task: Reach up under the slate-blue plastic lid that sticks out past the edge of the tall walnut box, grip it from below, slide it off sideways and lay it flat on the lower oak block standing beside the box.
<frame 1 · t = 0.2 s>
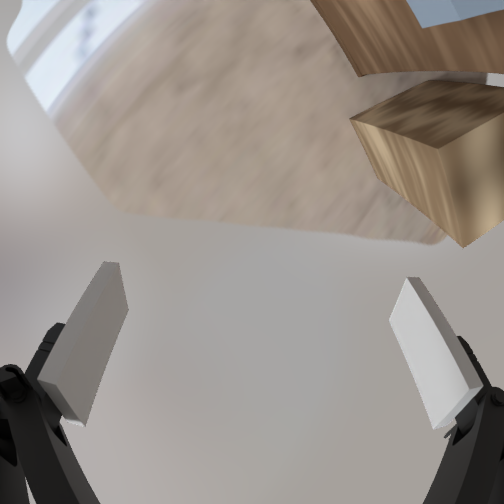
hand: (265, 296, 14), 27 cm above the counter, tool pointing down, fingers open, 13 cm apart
oak block: (404, 127, 35), on the counter
walnut box: (378, 17, 28), on the counter
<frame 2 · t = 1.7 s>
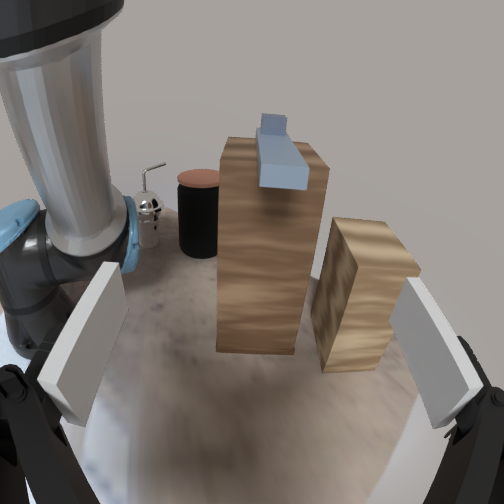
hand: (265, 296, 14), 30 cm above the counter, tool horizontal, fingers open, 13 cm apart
coffee jar: (202, 248, 75), on the counter
lid: (274, 158, 35), point 30 cm above the counter, touching walnut box
oak block: (341, 341, 51), on the counter
walnut box: (254, 323, 54), on the counter
cup with straw: (150, 244, 75), on the counter
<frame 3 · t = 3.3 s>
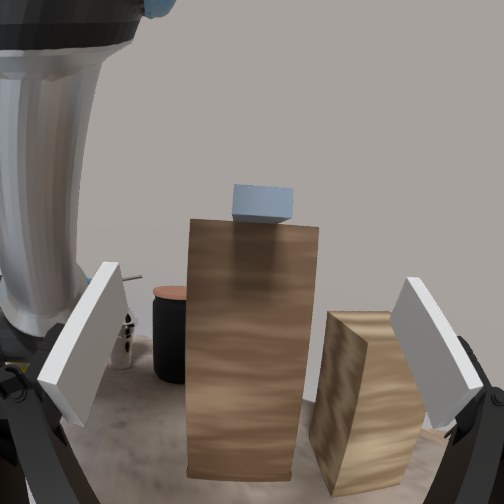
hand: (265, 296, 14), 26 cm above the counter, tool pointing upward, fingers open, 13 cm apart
coffee jar: (179, 374, 61), on the counter
lid: (254, 223, 31), point 30 cm above the counter, touching walnut box
oak block: (350, 461, 33), on the counter
walnut box: (238, 448, 37), on the counter
cup with straw: (122, 366, 61), on the counter
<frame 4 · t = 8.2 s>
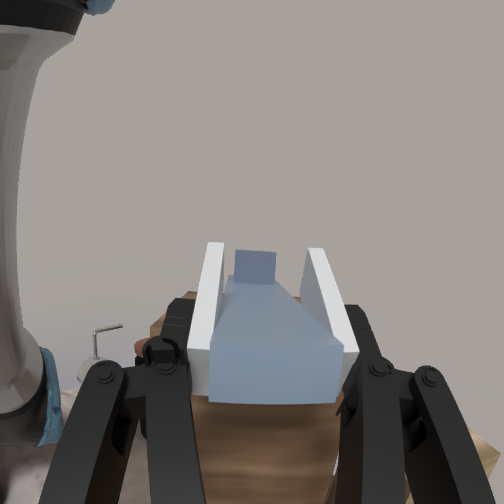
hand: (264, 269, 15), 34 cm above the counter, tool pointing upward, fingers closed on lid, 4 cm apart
coffee jar: (170, 435, 48), on the counter
lid: (255, 325, 19), point 30 cm above the counter, touching gripper, walnut box
cup with straw: (105, 422, 48), on the counter
when the fingers open (25 cm above the counter, at t = 13.9 s): lid drops 1 cm, resting on oak block.
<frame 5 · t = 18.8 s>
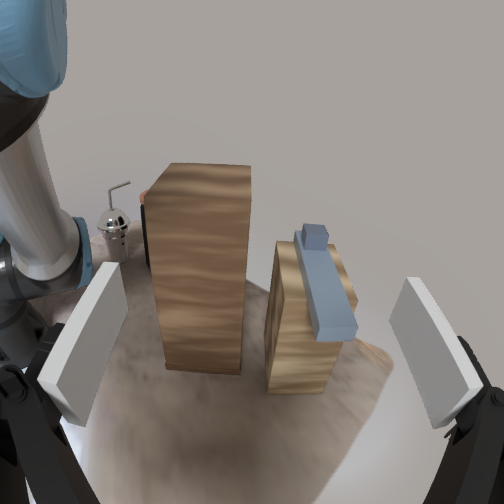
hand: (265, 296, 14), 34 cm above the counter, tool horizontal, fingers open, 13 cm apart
lid: (318, 282, 39), point 20 cm above the counter, touching oak block
oak block: (291, 362, 52), on the counter
walnut box: (206, 341, 55), on the counter
cup with straw: (120, 259, 75), on the counter
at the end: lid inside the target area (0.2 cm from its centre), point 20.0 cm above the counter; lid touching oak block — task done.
